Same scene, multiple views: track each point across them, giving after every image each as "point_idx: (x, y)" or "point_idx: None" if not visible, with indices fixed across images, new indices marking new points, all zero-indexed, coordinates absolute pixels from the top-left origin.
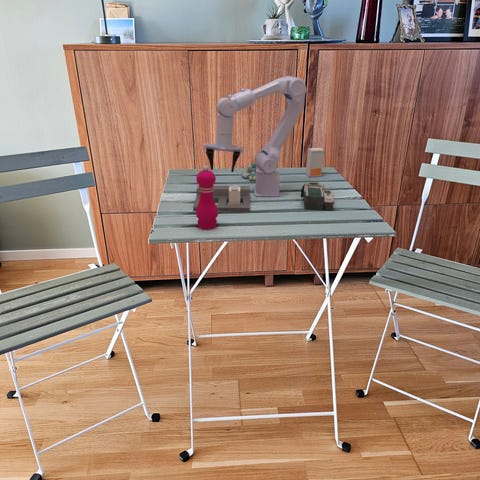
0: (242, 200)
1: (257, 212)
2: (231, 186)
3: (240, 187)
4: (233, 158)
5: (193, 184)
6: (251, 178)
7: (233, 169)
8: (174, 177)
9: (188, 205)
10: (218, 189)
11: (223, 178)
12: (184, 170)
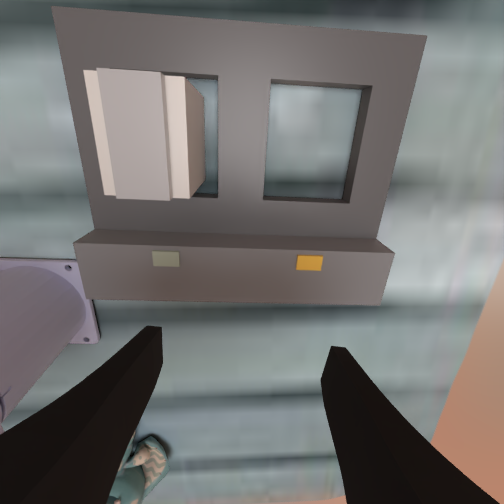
0: None
1: (15, 2)
2: (165, 159)
3: (136, 275)
4: (43, 458)
5: None
6: None
7: (131, 340)
8: None
9: (422, 140)
10: (266, 247)
11: (241, 438)
12: None
